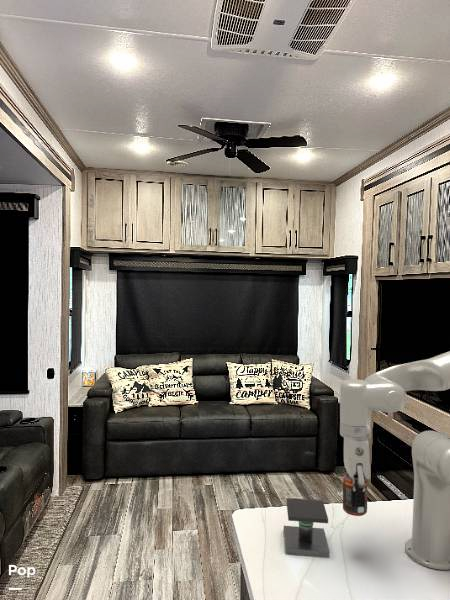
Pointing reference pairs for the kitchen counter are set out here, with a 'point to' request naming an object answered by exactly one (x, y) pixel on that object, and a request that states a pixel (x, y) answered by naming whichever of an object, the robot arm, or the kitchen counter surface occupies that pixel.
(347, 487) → the supplement bottle
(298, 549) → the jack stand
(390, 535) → the kitchen counter surface
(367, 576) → the kitchen counter surface
